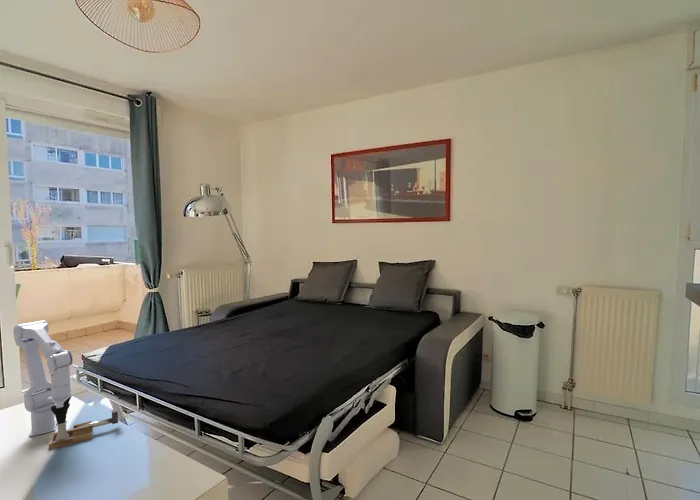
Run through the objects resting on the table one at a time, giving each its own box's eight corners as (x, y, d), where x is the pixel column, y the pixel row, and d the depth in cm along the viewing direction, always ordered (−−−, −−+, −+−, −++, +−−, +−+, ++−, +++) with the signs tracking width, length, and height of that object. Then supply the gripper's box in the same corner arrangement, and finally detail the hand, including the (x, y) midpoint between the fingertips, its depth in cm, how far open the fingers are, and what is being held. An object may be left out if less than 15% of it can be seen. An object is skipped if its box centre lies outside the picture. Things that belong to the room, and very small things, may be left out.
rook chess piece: (62, 444, 139) (61, 423, 139) (51, 444, 140) (50, 423, 140) (72, 438, 144) (71, 417, 144) (62, 437, 144) (61, 417, 144)
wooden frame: (51, 438, 144) (51, 428, 144) (92, 428, 151) (91, 418, 151) (48, 449, 136) (48, 438, 136) (91, 438, 143) (91, 427, 143)
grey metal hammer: (77, 429, 146) (76, 418, 146) (117, 419, 153) (117, 408, 153) (76, 433, 143) (76, 421, 143) (118, 422, 151) (117, 411, 150)
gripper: (49, 380, 145) (51, 414, 146) (44, 393, 133) (46, 430, 134) (72, 376, 149) (73, 409, 150) (69, 388, 137) (71, 424, 138)
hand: (62, 419), depth 142 cm, fingers open, 7 cm apart
